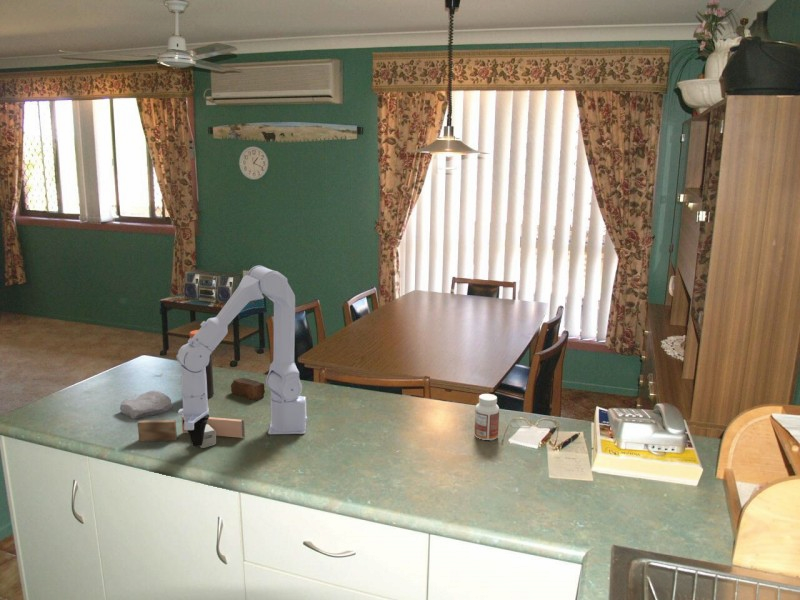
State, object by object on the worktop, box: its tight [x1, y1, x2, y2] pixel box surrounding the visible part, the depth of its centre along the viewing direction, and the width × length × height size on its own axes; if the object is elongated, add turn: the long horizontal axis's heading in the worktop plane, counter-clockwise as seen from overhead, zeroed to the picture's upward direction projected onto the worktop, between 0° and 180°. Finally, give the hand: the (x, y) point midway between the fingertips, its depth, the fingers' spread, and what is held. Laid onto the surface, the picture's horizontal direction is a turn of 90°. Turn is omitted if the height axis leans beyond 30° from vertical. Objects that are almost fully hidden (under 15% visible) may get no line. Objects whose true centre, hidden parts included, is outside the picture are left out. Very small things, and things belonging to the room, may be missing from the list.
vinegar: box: [189, 329, 215, 400], centre depth 185 cm, size 7×7×20 cm
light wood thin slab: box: [181, 415, 246, 439], centre depth 160 cm, size 17×1×5 cm, turn 82°
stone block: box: [119, 389, 173, 420], centre depth 175 cm, size 12×5×10 cm
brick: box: [230, 377, 266, 401], centre depth 188 cm, size 11×4×5 cm, turn 57°
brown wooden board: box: [137, 419, 178, 442], centre depth 157 cm, size 9×1×5 cm, turn 95°
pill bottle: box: [474, 393, 500, 441], centre depth 162 cm, size 6×6×11 cm
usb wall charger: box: [199, 424, 217, 449], centre depth 157 cm, size 4×7×4 cm, turn 37°
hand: (197, 445), depth 152 cm, fingers closed
